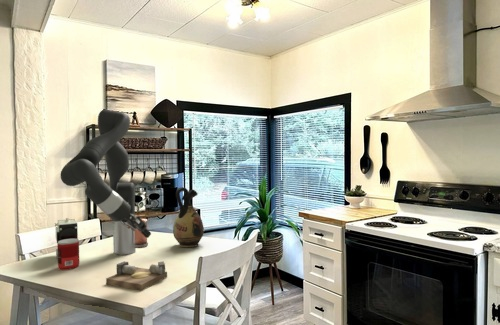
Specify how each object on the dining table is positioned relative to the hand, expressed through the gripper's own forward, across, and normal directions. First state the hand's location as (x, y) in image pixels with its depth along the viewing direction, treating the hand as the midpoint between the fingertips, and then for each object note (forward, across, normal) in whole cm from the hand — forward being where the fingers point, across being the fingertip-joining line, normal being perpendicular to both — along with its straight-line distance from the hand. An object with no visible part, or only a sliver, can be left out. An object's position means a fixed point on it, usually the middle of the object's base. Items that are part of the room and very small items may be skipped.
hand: (145, 234), depth 128 cm
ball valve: (+5, +54, +18) cm, 58 cm away
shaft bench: (+10, +2, +14) cm, 17 cm away
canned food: (+2, +38, +21) cm, 44 cm away
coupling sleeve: (+2, 0, +4) cm, 5 cm away
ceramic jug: (+39, +28, -17) cm, 51 cm away
